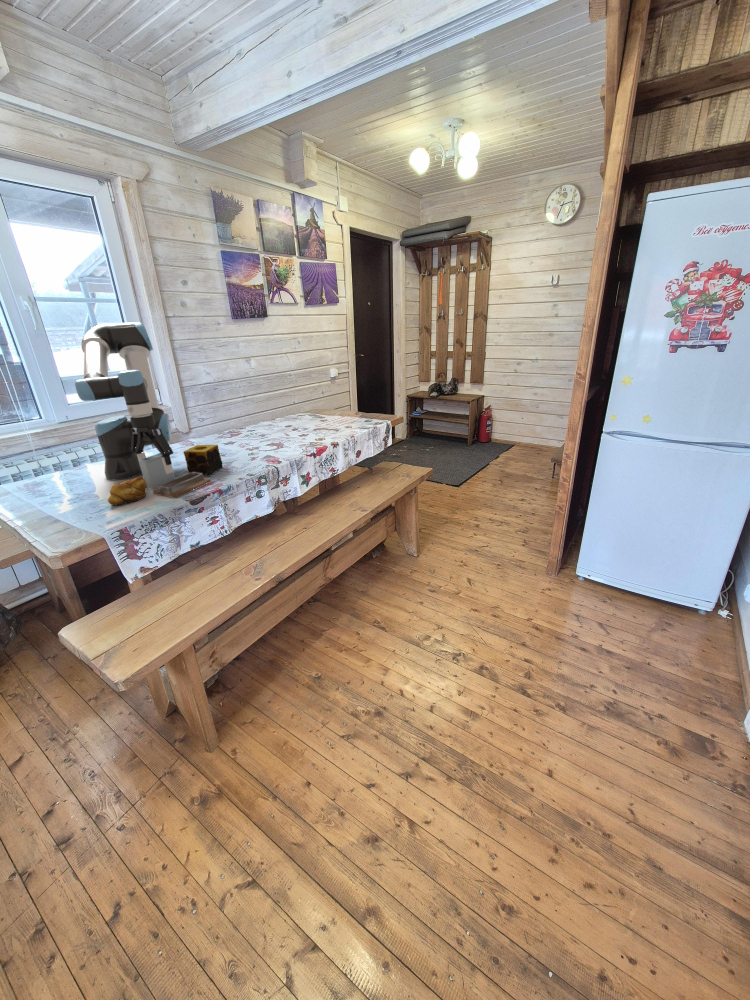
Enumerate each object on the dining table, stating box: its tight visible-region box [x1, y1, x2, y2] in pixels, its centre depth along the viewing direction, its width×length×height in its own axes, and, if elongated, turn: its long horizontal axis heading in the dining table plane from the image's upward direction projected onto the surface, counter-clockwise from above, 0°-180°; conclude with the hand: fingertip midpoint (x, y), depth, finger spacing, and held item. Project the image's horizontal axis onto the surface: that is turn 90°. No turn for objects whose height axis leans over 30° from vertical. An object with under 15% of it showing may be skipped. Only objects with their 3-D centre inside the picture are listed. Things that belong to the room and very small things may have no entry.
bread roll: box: [107, 476, 147, 506], centre depth 146 cm, size 13×10×8 cm
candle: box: [183, 444, 224, 476], centre depth 170 cm, size 10×10×10 cm
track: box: [152, 472, 212, 499], centre depth 155 cm, size 12×16×3 cm
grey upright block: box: [139, 452, 176, 490], centre depth 158 cm, size 4×10×11 cm, turn 154°
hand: (157, 471), depth 158 cm, fingers open, 13 cm apart
